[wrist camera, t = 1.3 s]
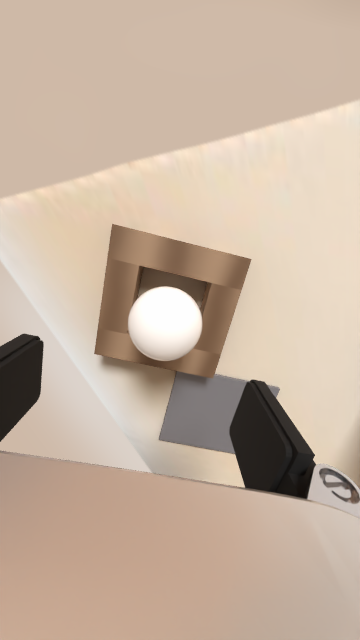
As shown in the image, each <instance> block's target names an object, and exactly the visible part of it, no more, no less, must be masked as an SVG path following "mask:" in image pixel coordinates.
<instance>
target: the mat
mask: <svg viewBox="0 0 360 640" xmlns="http://www.w3.org/2000/svg"><path fill="white" fill-rule="evenodd" d="M247 382H250V381H245V380H241V379H236V378H231V377H226V376H221V375H217V374H214V377H213V378H208V377H203V376H198V375H194V374H189V373H184V372H179V371H177V373H176V376H175V380H174V384H173V388H172V391H171V395H170V399H169V403H168V407H167V410H166V414H165V418H164V422H163V425H162V429H161V433H160V437H159V440H162V441H168V442H173V443H179V444H184V445H190V446H195V447H201V448H206V449H212V450H217V451H223V452H228V453H234V454H235V451H234V448H233V445H232V441H231V438H230V434H229V429H230V425H231V422H232V420H233V417H234V414H235V412H236V409H237V406H238V404H239V401H240V398H241V396H242V393H243V390H244V388H245V385H246V383H247ZM267 386H268V387H269V389H270V390H271V392H272V393H273V395H274V396H275V398H276V397H277V395H278V392H279V390H280V389H279V387H274V386H269V385H267Z"/></svg>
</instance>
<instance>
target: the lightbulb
mask: <svg viewBox="0 0 360 640" xmlns="http://www.w3.org/2000/svg"><path fill="white" fill-rule="evenodd" d="M128 331H129V335H130V338H131V340H132V342H133V344H134V345H135V347H136V348H137V349H138V350H139V351H140V352H141V353H142V354H144V355H145V356H147V357H149V358H151V359H154V360H159V361H172V360H176V359H179V358H181V357H183V356H185V355H186V354H188V353H189V352H190V351H191V350H192V349H193V348H194V347H195V345H196V344H197V342H198V340H199V338H200V336H201V332H202V315H201V312H200V309H199V307H198V305H197V303H196V302H195V301H194V299H193V298H192V297H191V296H190V295H188V294H187V293H186V292H184V291H182V290H180V289H177V288H174V287H167V286H163V287H156V288H153V289H150V290H148V291H146V292H145V293H143V294H142V295H141V296H140V297H139V298H138V299H137V300H136V301H135V302H134V304H133V306H132V307H131V310H130V312H129V316H128Z"/></svg>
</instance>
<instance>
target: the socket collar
mask: <svg viewBox="0 0 360 640" xmlns="http://www.w3.org/2000/svg"><path fill="white" fill-rule="evenodd" d="M250 262H251V259H248V258H244V257H240V256H236V255H233V254H229V253H225V252H221V251H217V250H213V249H209V248H205V247H201V246H197V245H193V244H189V243H185V242H181V241H177V240H173V239H169V238H165V237H161V236H157V235H154V234H150V233H146V232H142V231H138V230H134V229H130V228H126V227H122V226H118V225H114V224H112V230H111V237H110V244H109V251H108V259H107V266H106V273H105V280H104V288H103V295H102V302H101V309H100V317H99V324H98V331H97V338H96V346H95V353H94V354H97V355H102V356H107V357H112V358H117V359H121V360H126V361H131V362H136V363H141V364H145V365H150V366H155V367H160V368H165V369H170V370H174V371H179V372H184V373H189V374H194V375H198V376H203V377H208V378H213V377H214V374H215V371H216V368H217V364H218V361H219V358H220V355H221V352H222V349H223V346H224V343H225V340H226V336H227V333H228V330H229V327H230V324H231V321H232V318H233V315H234V312H235V308H236V305H237V302H238V299H239V296H240V293H241V290H242V287H243V284H244V280H245V277H246V274H247V271H248V268H249V265H250ZM143 267H148V268H152V269H156V270H160V271H164V272H168V273H172V274H177V275H181V276H185V277H189V278H193V279H197V280H201V281H206V282H207V286H206V289H205V293H204V297H203V300H202V304H201V307H200V312H201V315H202V332H201V336H200V338H199V340H198V342H197V344H196V345H195V347H194V348H193V349H192V350H191V351H190V352H189V353H188V354H186V355H185V356H183V357H181V358H179V359H176V360H172V361H159V360H154V359H151V358H149V357H147V356H145V355H144V354H142V353H141V352H140V351H139V350H138V349H137V348H136V347H135V345H134V344H133V342H132V340H131V338H130V335H129V331H128V316H129V312H130V310H131V307H132V306H133V304H134V302H135V301H136V300H137V297H138V292H139V286H140V281H141V276H142V270H143Z"/></svg>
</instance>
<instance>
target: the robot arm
mask: <svg viewBox="0 0 360 640" xmlns="http://www.w3.org/2000/svg"><path fill="white" fill-rule="evenodd" d="M42 359H43V341H40V338H39V337H38V336H33V335H28V334H22V335H20V336H18V337H16V338H15V339H13V340H11V341H9V342H7V343H6V344H4V345H2V346H0V442H1V440H2V439H3V438H4V437H5V436H6V435H7V434H8V433H9V432H10V430H11V429H12V428H13V427H14V426H15V425H16V424H17V423H18V422H19V420H20V419H21V418H22V417H23V416H24V415H25V414H26V413H27V412H28V411H29V409H30V408H31V407H32V406H33V405H34V404H35V403H36V402H37V400H38V398H39V396H40V391H41V375H42ZM229 434H230V438H231V441H232V445H233V448H234V451H235V455H236V458H237V461H238V465H239V468H240V471H241V475H242V478H243V481H244V485H245V488H243V487H237V486H231V485H224V484H218V483H212V482H205V481H199V480H193V479H187V478H180V477H174V476H167V475H161V474H154V473H148V472H141V471H134V470H127V469H122V468H115V467H108V466H102V465H95V464H88V463H81V462H74V461H68V460H61V459H54V458H48V457H40V456H34V455H26V454H20V453H13V452H6V451H0V640H360V489H359V487H358V486H357V485H356V484H355V483H354V482H353V481H352V480H351V479H350V478H349V477H348V476H347V475H345V474H344V473H342V472H341V471H340V470H338V469H336V468H334V467H332V466H329V465H327V464H318V465H316V464H315V462H314V461H313V458H314V456H315V454H314V453H313V452H312V450H311V449H310V447H309V446H308V444H307V443H306V441H305V440H304V438H303V437H302V436H301V434H300V433H299V431H298V430H297V428H296V427H295V425H294V424H293V422H292V421H291V419H290V418H289V417H288V415H287V414H286V412H285V411H284V409H283V408H282V406H281V405H280V403H279V402H278V400H277V399H276V398H275V396H274V395H273V393H272V392H271V390H270V389H269V387H268V386H267V384H266V383H265V382H262V381H257V380H251V381H250V382H247V383H246V385H245V388H244V390H243V393H242V396H241V398H240V401H239V404H238V406H237V409H236V412H235V414H234V417H233V420H232V422H231V425H230V429H229Z"/></svg>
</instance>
